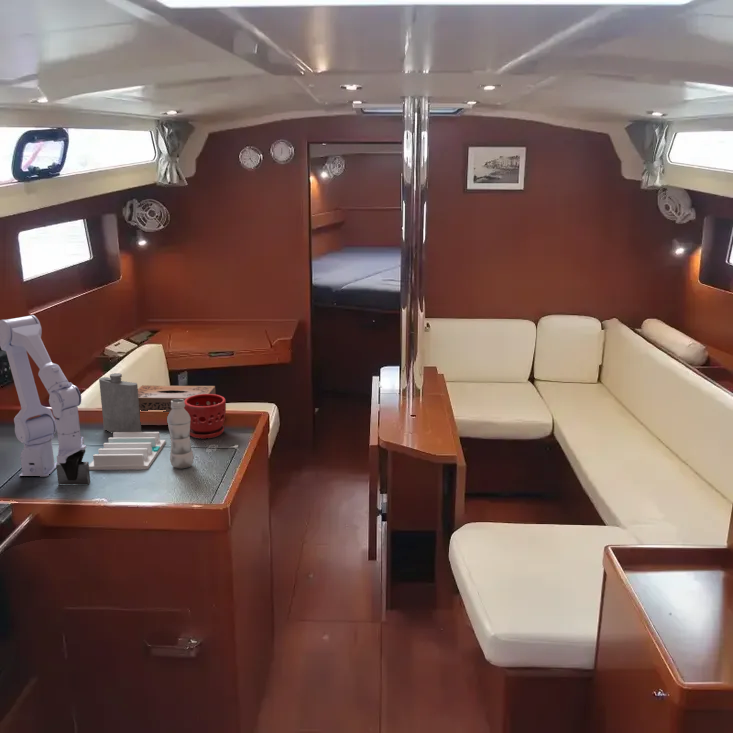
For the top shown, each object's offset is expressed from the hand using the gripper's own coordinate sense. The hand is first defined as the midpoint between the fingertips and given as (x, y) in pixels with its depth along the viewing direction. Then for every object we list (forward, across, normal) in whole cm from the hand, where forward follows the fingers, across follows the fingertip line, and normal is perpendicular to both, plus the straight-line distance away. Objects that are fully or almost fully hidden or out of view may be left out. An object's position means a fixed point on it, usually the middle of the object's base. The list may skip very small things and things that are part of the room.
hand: (73, 477), depth 203 cm
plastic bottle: (+2, +11, -27) cm, 29 cm away
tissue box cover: (+2, +54, -15) cm, 56 cm away
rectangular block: (+2, 0, 0) cm, 2 cm away
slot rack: (+2, +20, -9) cm, 22 cm away
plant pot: (+2, +38, -29) cm, 48 cm away
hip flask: (+2, +40, -1) cm, 40 cm away
